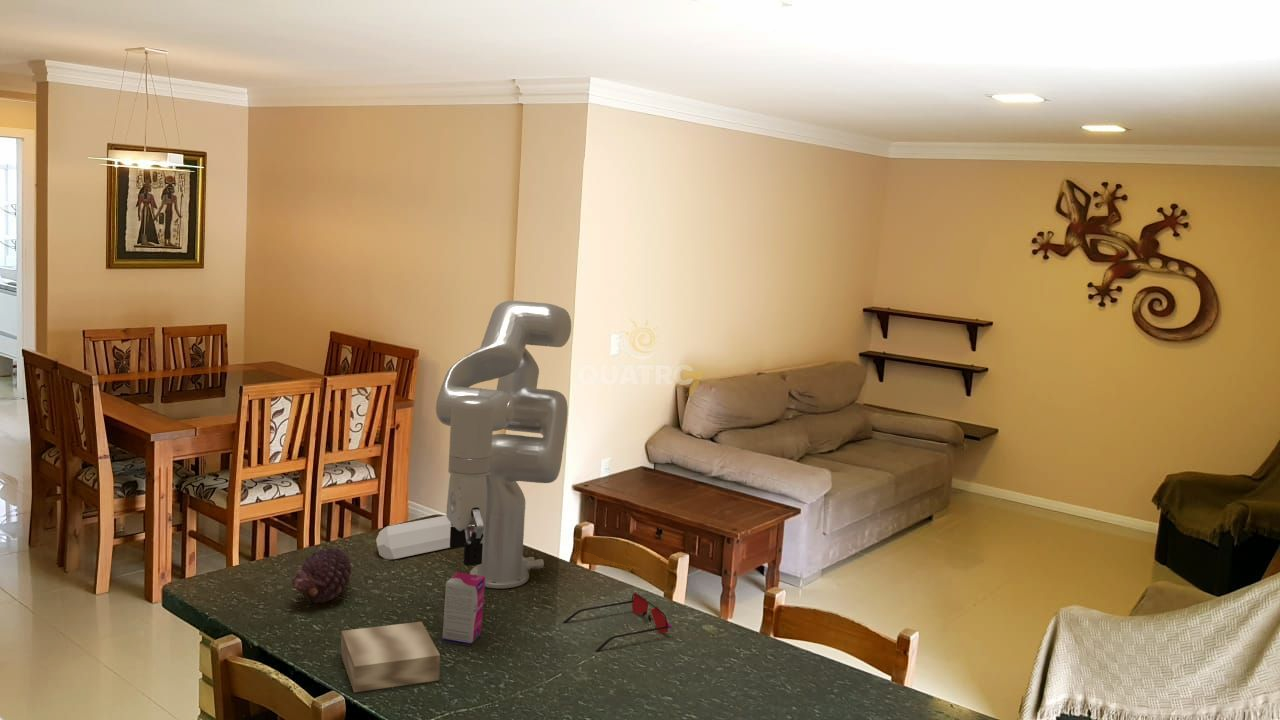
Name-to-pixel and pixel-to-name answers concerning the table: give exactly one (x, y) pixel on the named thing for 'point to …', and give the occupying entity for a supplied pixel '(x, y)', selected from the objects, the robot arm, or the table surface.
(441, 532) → the white chamfered bar
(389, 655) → the birch plinth
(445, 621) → the supplement box
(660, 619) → the glasses
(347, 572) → the purple hedgehog toy
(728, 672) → the table surface
